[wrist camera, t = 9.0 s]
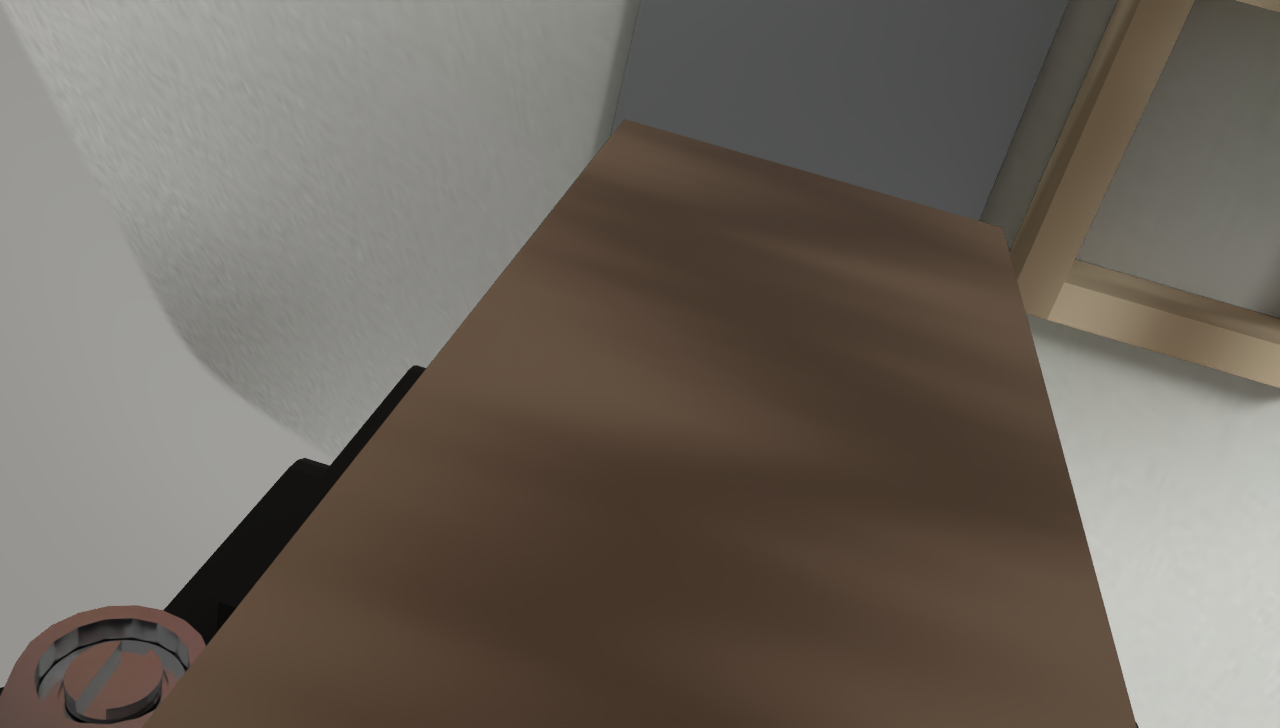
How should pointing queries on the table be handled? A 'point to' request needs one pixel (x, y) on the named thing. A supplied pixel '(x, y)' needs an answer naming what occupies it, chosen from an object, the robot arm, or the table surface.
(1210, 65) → the table surface
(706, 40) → the mat
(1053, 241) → the pocket
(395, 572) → the walnut block
